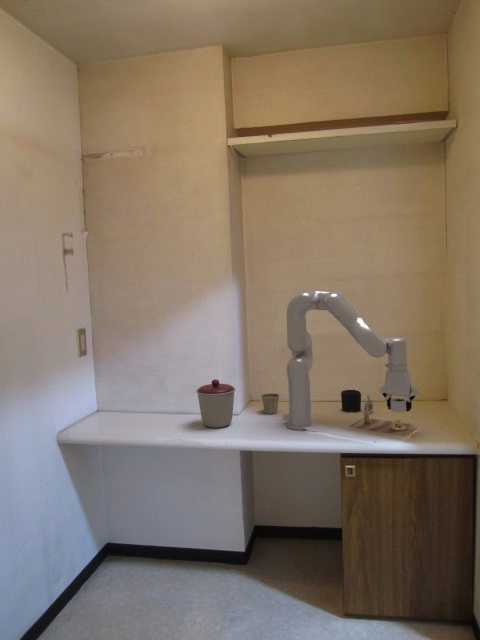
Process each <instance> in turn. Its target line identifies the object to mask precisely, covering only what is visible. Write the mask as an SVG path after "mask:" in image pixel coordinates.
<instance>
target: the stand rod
mask: <svg viewBox="0 0 480 640" xmlns="http://www.w3.org/2000/svg"><path fill="white" fill-rule="evenodd" d="M363 417H364V424H369V418H370V414H369V411H365V410H364V411H363Z"/></svg>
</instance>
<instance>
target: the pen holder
mask: <svg viewBox="0 0 480 640" xmlns="http://www.w3.org/2000/svg"><path fill="white" fill-rule="evenodd" d="M340 397H341V411H343V412H345V413H358V412H361V410H362V393H361V391H359V390H356V389H345V390H344V389H343V390H342V391H341V393H340Z"/></svg>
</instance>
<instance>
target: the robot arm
mask: <svg viewBox="0 0 480 640" xmlns="http://www.w3.org/2000/svg"><path fill="white" fill-rule="evenodd" d="M313 310H314V311H315V310H316V311H328V312H329V313H330V314H331V315H332V316H333V317H334V319H336V320H337V322H339V323H340V325H342V326H343V327H344V329H346V331H347V333H349V334H350V335H351V336H352V338H353V339H354V340H355V342H357V344H359V346H360V347H361V348H362V349H363V350H365V352H366V353H368V355H369V356H371V357H373V358H375V359H376V358H377V359H379V358H382V357H384V356H386V355H387V363H385V364H384V368H387V370H386V372H385V377H384V385H383V386H382V387H380V388H379V389H378V390H379V391H380V393H381V394H382V396H383V397H384V398H385V400H386V407H387V409H388V410H390V400H391V399H393V398H392V396H396V397H397V396H399V397H405V399H407V402H406V412H410V411H411V410H412V407H413V405H412V403H413V402H412V401H413V400H414V399H415V398H416V397H417V396H418V395H419V394H420V393H419V390H417V389H416V388H415V387H414V386H413V385H412V378H411V374H410V371H409V370H408V353H407V352H408V350H407V349H408V348H407V344H408V343H407V340H406V338H404V337H401V336H400V337H398V336H397V337H382V336H377V334H376V333H375V332H373V331H372V329H371V328H370V327H369V326H368V324H367V323H366V321H365V319H364V317H363V316H362V315H361V313H360V312H359V311H357V310H356V309H355V307H353V306H352V304H350V303H349V302H348V300H346V297H345V295H344V294H343V293H342V292H339V291H320V290H319V291H317V290H306V291H302V292H300V293H298V294H296V295H295V296H294V297H293V298H291V299H290V301H289V302H288V304H287V307H286V313H285V314H286V337H287V338H286V339H287V340H286V343H287V348H288V349H289V350H290V351H291V357H290V359H289V360H288V361H287V364H286V375H287V385H288V388H287V389H288V410H289V411H288V412H289V414H288V413H287V414H286V413H284V414H283V415H282V420H286V425H285V427H287V429H289V430H294V431H306V430H307V428H311V427H313V426H314V425H315V422H314V421H313V420H312V410H311V409H312V407H311V406H312V405H311V385H310V384H311V383H310V382H311V381H310V371H311V369H312V367H313V363H314V359H313V357H314V356H313V342H312V341H313V339H312V336H311V334H310V333H309V332H308V330H307V316H306V315H307V312H310V311H313ZM412 393H413V394H412ZM411 394H412V395H411Z"/></svg>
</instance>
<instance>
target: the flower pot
mask: <svg viewBox="0 0 480 640" xmlns="http://www.w3.org/2000/svg"><path fill="white" fill-rule="evenodd" d="M280 396H281V395H280V394H279V393H276V392H271V393H263V394H260V397H261V400H262V405H263V410H264V411H263V412H264V414H267V415H273V414H277V413H278V405H279V399H280Z"/></svg>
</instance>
